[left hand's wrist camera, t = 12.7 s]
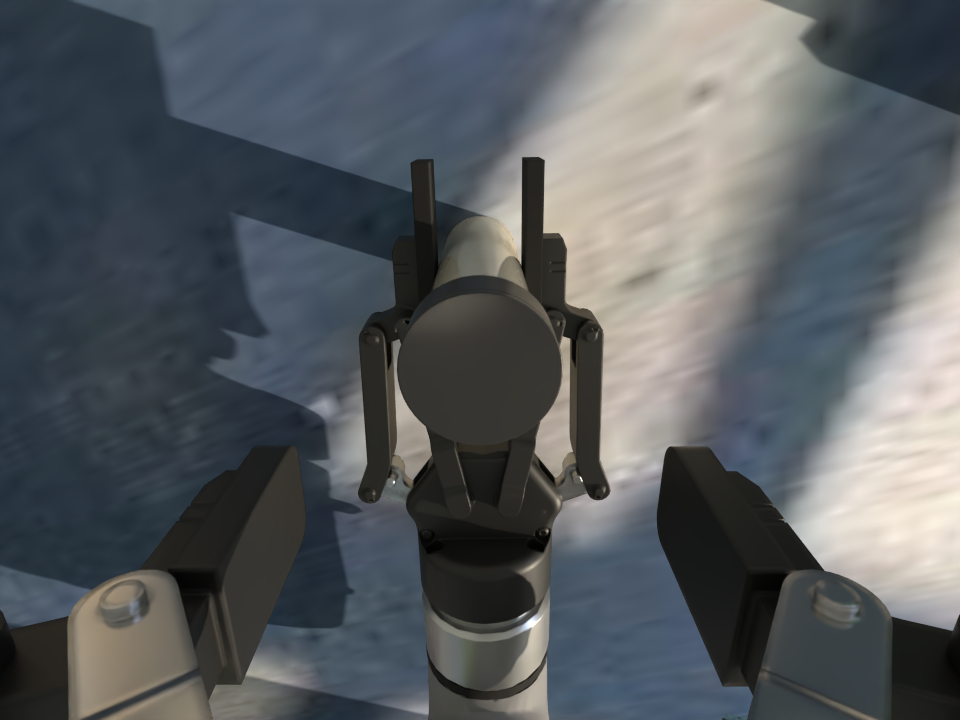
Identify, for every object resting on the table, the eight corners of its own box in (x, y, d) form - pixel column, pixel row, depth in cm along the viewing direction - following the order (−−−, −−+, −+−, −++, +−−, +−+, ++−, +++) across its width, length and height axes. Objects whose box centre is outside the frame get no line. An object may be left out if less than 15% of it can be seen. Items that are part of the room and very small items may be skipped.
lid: (539, 259, 18) (546, 275, 16) (566, 398, 20) (575, 428, 18) (387, 293, 19) (376, 313, 17) (426, 426, 20) (420, 458, 18)
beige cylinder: (507, 208, 33) (533, 288, 17) (521, 277, 35) (558, 412, 18) (437, 225, 33) (396, 318, 17) (454, 292, 35) (431, 438, 19)
